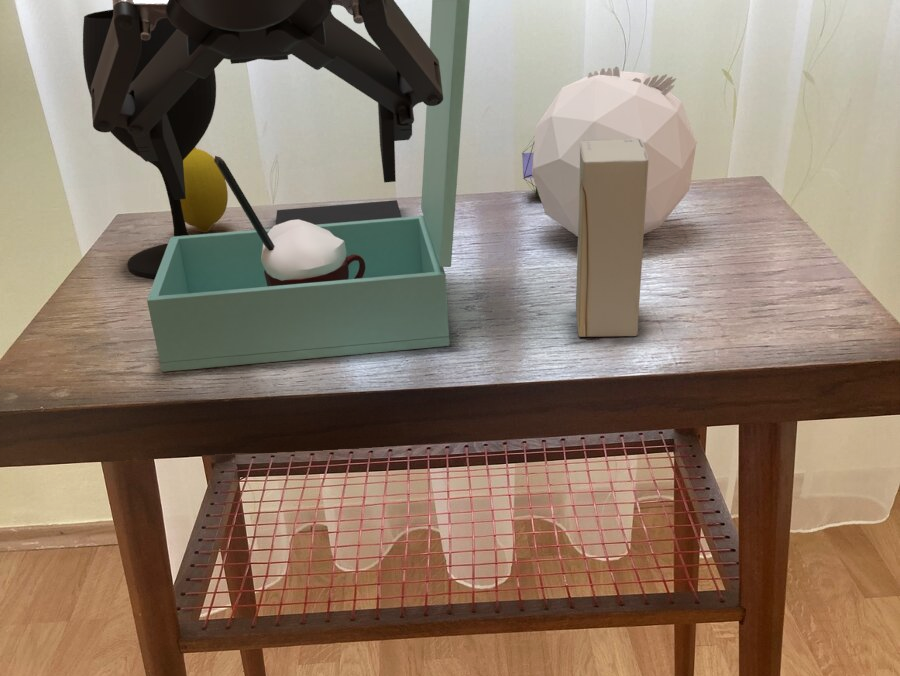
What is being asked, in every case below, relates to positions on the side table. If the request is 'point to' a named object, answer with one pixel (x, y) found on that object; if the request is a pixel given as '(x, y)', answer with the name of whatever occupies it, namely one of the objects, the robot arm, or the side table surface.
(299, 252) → the cocoa
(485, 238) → the side table surface
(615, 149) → the cosmetic box
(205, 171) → the lemon
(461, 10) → the lid
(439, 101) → the robot arm
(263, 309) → the teal open box
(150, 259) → the wine glass
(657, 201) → the geodesic sphere
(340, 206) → the mat
